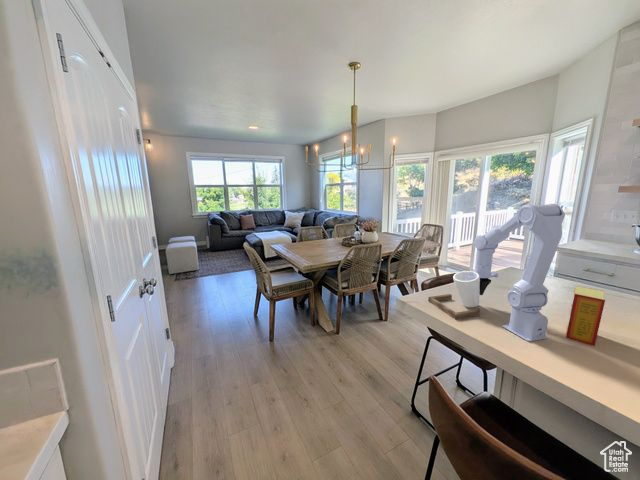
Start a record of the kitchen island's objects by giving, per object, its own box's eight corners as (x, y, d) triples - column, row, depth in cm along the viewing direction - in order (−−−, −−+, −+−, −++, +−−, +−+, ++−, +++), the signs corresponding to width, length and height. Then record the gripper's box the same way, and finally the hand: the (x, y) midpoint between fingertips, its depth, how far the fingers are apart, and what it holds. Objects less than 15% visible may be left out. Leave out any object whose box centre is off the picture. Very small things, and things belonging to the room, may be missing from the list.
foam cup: (476, 295, 111) (471, 269, 108) (488, 306, 102) (484, 277, 99) (454, 300, 112) (449, 274, 109) (464, 311, 103) (459, 283, 100)
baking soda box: (567, 326, 90) (575, 284, 87) (593, 333, 86) (603, 289, 82) (565, 337, 84) (574, 293, 80) (594, 346, 79) (605, 299, 76)
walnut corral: (479, 315, 99) (479, 310, 99) (455, 319, 97) (455, 314, 96) (449, 298, 114) (450, 294, 114) (428, 301, 112) (428, 296, 112)
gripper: (489, 259, 110) (485, 288, 113) (461, 262, 107) (458, 292, 110) (504, 264, 103) (500, 295, 106) (474, 267, 100) (471, 299, 103)
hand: (479, 294), depth 108 cm, fingers closed
